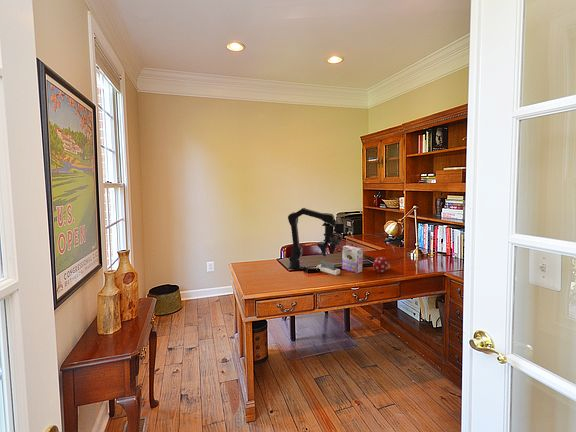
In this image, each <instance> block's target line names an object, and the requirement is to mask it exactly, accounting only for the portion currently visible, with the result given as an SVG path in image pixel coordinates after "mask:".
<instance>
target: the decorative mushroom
mask: <svg viewBox="0 0 576 432" xmlns="http://www.w3.org/2000/svg"><path fill="white" fill-rule="evenodd" d="M372 268H373V269H374V271H376V273H379V274H380V273H384V272H386V271H387V270H390V268H391V265H390V264H389V261H388V260H387V258H385V256H378V257H376V258H374V260H373V263H372Z"/></svg>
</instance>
